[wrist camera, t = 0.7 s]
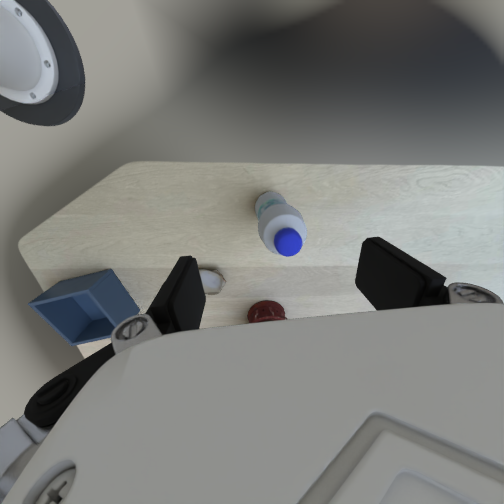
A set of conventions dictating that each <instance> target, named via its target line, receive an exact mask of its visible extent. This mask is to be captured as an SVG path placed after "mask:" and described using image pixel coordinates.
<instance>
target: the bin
mask: <svg viewBox="0 0 504 504" xmlns="http://www.w3.org/2000/svg"><path fill="white" fill-rule="evenodd" d="M28 305H29V306H30V307H31V308H32V309H33V310H34V311H36V312H37V313H38V314H39V315H40V316H41V317H42V318H43V319H44V320H45V321H46V322H47V323H48V324H49V325H50V326H51V327H52V328H53V329H54V330H55V331H56V332H57V333H58V334H60V335H61V336H62V337H63V338H64V339H65V340H66V341H67V342H68V343H69V344H70V345H71V346H74V345H79V344H84V343H88V342H93V341H97V340H102V339H106V338H111V334H112V332H113V330H114V329H115V328H116V326H117V325H119V324H120V323H121V322H122V321H124V320H125V319H127V318H129V317H132V316H134V315H137V314H138V313H139V311H140V309H139V308H138V306H137V305H136V304H135V302H134V301H133V299H132V298H131V296H130V295H129V293H128V292H127V291H126V289H125V288H124V286H123V285H122V283H121V282H120V281H119V279H118V278H117V276H116V275H115V273H114V272H113V270H112V269H108V270H104V271H100V272H96V273H92V274H88V275H84V276H80V277H76V278H72V279H68V280H64V281H60V282H58V283H57V284H55V285H54V286H52V287H51V288H50V289H48V290H47V291H45V292H44V293H42V294H41V295H40V296H38V297H37V298H35V299H34V300H32V301H31V302H30V303H28Z"/></svg>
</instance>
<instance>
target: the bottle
mask: <svg viewBox="0 0 504 504" xmlns="http://www.w3.org/2000/svg"><path fill="white" fill-rule="evenodd" d="M255 212H256V216H257V218H258V220H259V222H258V232H259V236H260V238H261V240H262V241H263V242H264V244H265V246H266V247H267V248H268V249H269V250H270V251H271V252H273V253H275V254H279V255H283V256H293V255H295V254H297V253H298V252H299V251H300V249H301V247H302V245H303V244H304V242H305V240H306V236H307V228H306V225H305V223H304V221H303V218H302V216H301V214H300V213H299V211H298V210H296V209H295V208H294V207H292V206H290V205H288V204H287V202H286V201H285V199H284V198H283V197H282V196H281V195H280V194H278V193H275V192H267V193H265V194H263V195H261V196H260V197H259V198H258V200H257V202H256V205H255Z"/></svg>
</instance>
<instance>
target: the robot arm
mask: <svg viewBox="0 0 504 504" xmlns="http://www.w3.org/2000/svg"><path fill="white" fill-rule="evenodd" d="M58 75H59V71H58V65H57V60H56V56H55V53H54V50H53V48H52V46H51V44H50V41H49V39H48V38H47V36H46V34H45V33H44V31H43V29H42V28H41V26H40V25H39V24H38V23H37V21H36V20H35V19H34V17H33V16H32V15H31V14H30V13H29V12H28V11H27V10H26V9H25V8H24V7H22V6H21V5H20V4H19V3H17V2H16V1H15V0H0V94H1V95H2V96H4V97H6V98H8V99H10V100H13V101H16V102H20V103H25V104H40V103H44V102H45V101H47V100H49V99H50V98H51V97H52V96H53V95H54V93H55V91H56V89H57V85H58ZM445 280H446V277H444V276H443V275H441V274H439V273H438V272H436V271H434V270H433V269H431V268H430V267H428V266H426V265H425V264H423V263H421V262H420V261H418V260H416V259H415V258H413V257H412V256H410V255H408V254H407V253H405V252H403V251H402V250H400V249H398V248H397V247H395V246H394V245H392V244H390V243H389V242H387V241H385V240H384V239H382V238H380V237H371V238H367V239H366V240H365V241H363V243H362V247H361V253H360V258H359V263H358V268H357V274H356V279H355V284H356V286H357V288H358V289H359V290H360V291H361V292H362V293H363V295H364V296H365V297H366V298H367V299H368V300H369V302H370V303H371V304H372V305H373V306H374V307H375V309H376V310H377V311H368V312H358V313H347V314H337V315H327V316H317V317H307V318H297V319H287V320H278V321H268V322H259V323H250V324H240V325H231V326H222V327H212V328H204V329H199V326H200V322H201V318H202V314H203V310H204V306H205V302H206V296H205V292H204V288H203V284H202V280H201V276H200V273H199V269H198V265H197V261H196V258H192V256H182V257H180V258H179V260H178V261H177V263H176V265H175V266H174V268H173V270H172V271H171V273H170V275H169V276H168V278H167V280H166V281H165V282H164V284H163V285H162V287H161V289H160V290H159V292H158V294H157V295H156V297H155V299H154V300H153V302H152V304H151V305H150V307H149V308H148V310H147V312H146V313H145V314H138V315H134V316H132V317H129V318H127V319H125V320H124V321H122V322H121V323H120V324H119V325H117V326H116V328H115V329H114V330H113V332H112V334H111V342H112V343H110V344H109V345H107V346H105V347H104V348H102V349H100V350H99V351H97V352H95V353H94V354H92V355H91V356H89V357H87V358H86V359H84V360H82V361H81V362H79V363H77V364H76V365H74V366H72V367H71V368H69V369H68V370H66V371H64V372H63V373H61V374H59V375H58V376H56V377H54V378H53V379H52V380H50V381H49V382H47V383H46V384H44V386H42V387H41V388H40V389H39V390H38V391H37V392H36V393H35V394H34V395H33V396H32V397H31V399H30V400H29V402H28V404H27V405H26V407H25V411H24V415H22V416H21V417H20V418H19V419H18V420H15V419H14V418H12V419H11V420H9V421H8V422H7V423H6V424H4V425H3V426H2V427H1V428H0V504H504V304H503V301H502V300H501V298H500V297H499V296H497V295H496V294H495V293H493V292H491V291H489V290H487V289H485V288H482V287H480V286H476V285H473V284H468V283H451V284H450V285H449V286H448V287H446V286H444V282H445Z"/></svg>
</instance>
